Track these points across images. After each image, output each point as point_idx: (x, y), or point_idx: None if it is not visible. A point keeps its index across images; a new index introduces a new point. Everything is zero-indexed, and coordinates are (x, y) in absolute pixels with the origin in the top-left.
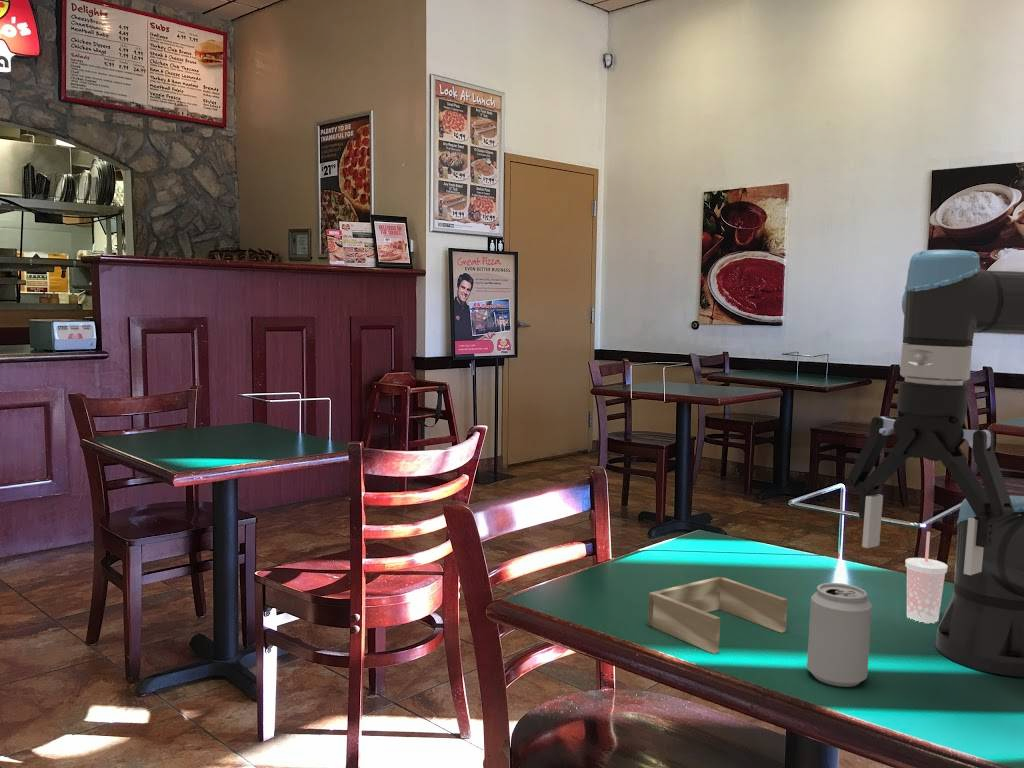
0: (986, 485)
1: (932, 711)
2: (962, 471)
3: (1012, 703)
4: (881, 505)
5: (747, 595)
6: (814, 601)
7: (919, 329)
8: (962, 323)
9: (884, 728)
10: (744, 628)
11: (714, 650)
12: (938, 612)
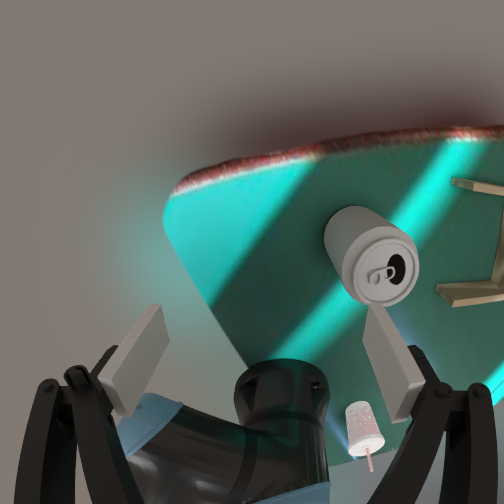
0: (41, 439)
1: (249, 245)
2: (90, 491)
3: (220, 322)
4: (386, 401)
5: (481, 292)
6: (404, 232)
7: None
8: None
9: (253, 167)
10: (462, 261)
11: (453, 178)
12: (346, 418)
